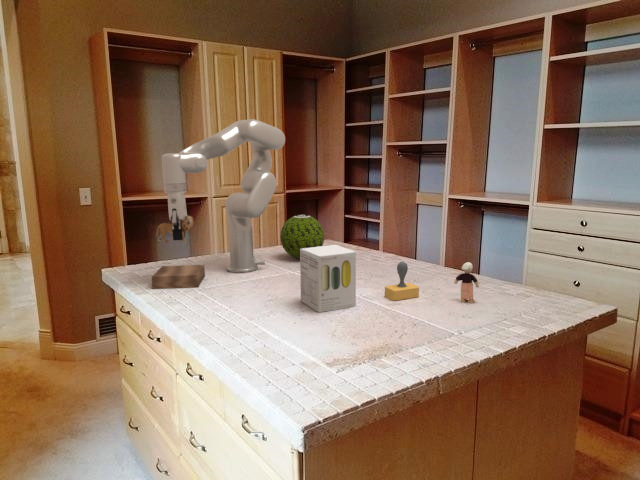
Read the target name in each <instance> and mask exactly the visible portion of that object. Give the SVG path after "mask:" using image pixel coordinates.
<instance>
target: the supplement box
mask: <svg viewBox="0 0 640 480" xmlns="http://www.w3.org/2000/svg"><path fill="white" fill-rule="evenodd" d="M356 259H357V252H356V251H355V250H353V249H349V248H346V247H343V246H340V245H337V244H329V245H323V246H319V247H311V248H302V249H300V259H299V263H300V264H299V266H300V269H299V270H300V301H301V302H302V303H304V304H305V305H307V306H309V307H310V308H311V309H313V310H314V311H316V312H318V313H324V312H329V311H334V310H340V309H345V308H346V309H347V308H351V307H355V306H356V305H357V304H356V301H357V299H356V297H357V296H356V293H357V292H356V291H357V286H356V285H357V283H356V282H357V279H356V278H357V277H356V276H357V275H356V273H357V272H356V271H357V270H356V268H357V265H356V263H357V262H356Z"/></svg>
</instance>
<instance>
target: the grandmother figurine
mask: <svg viewBox="0 0 640 480" xmlns="http://www.w3.org/2000/svg"><path fill="white" fill-rule="evenodd" d="M473 268H474V267H473V264H472V262H469V261H468V262H465V263H463V265H462V266H461V270H462V271H463V272H464V273H460V274H458V275H457V276H456V277H455V280H454V281H453V283H454V284H455V285H457V284H458V282H459V281H461V284H460V303H466V302H467V303H469V304H473V303H476V300H475V298H474V285H475V288H479V287H480V284H479V280H478V279H477V277H476V276H475V275H474V274H472V271H473ZM473 283H474V284H473Z"/></svg>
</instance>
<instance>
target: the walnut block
mask: <svg viewBox="0 0 640 480" xmlns="http://www.w3.org/2000/svg"><path fill="white" fill-rule="evenodd" d="M205 268H206V267H205V264H189V265H187V264H186V265H183V264H181V265H162V266H161V267H160V268H158V270H156V272H155V273H154V274H153V275H152V276H151V287H152V290H166V289H168V290H169V289H195V288H200V286H201V284H202V282H203V280H204V278H205V277H206V272H205V271H206V269H205Z"/></svg>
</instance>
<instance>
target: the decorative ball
mask: <svg viewBox="0 0 640 480" xmlns="http://www.w3.org/2000/svg"><path fill="white" fill-rule="evenodd" d="M324 243H325V232H324V228H323V225H322V224H321V222H320V221H318V220H317V219H316V218H315V217H313V216H311V215H307V214H296V215H294V216H291V217H290V218H289V219H287V221H285V223H283V226H282V228H281V230H280V244H281V246H282V248H283V250H284V251H285V252H286V253H287V254H288V255H289V256H290V257H293V258H294V259H299V260H300V249H302V248H311V247H319V246H324Z"/></svg>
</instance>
